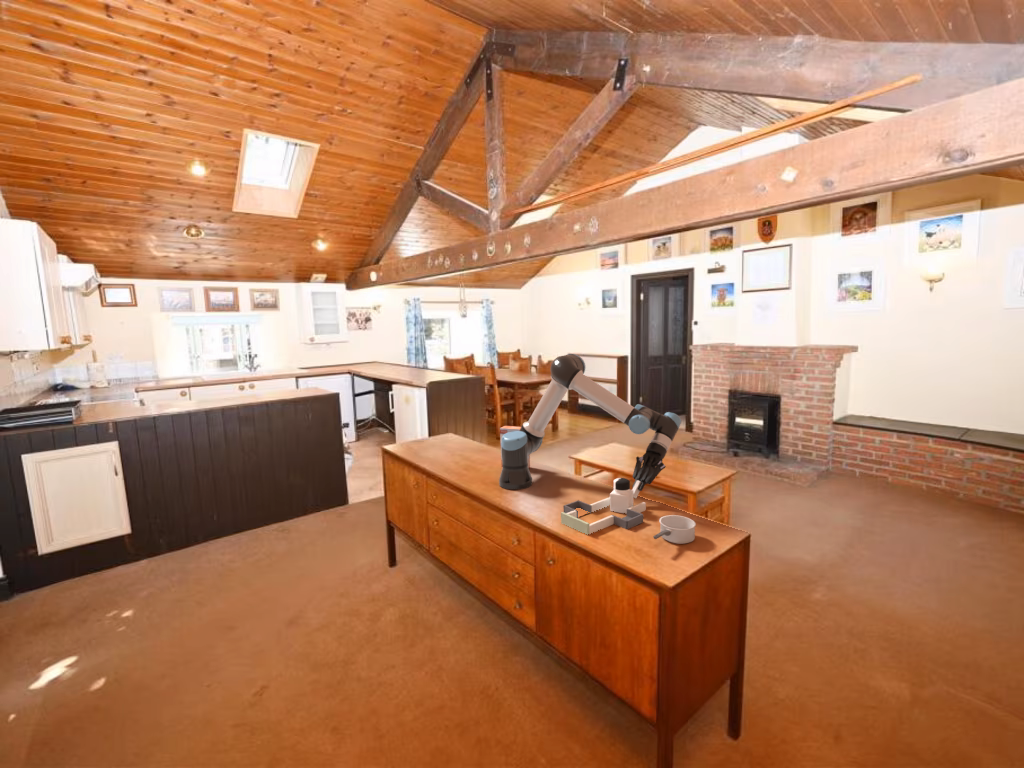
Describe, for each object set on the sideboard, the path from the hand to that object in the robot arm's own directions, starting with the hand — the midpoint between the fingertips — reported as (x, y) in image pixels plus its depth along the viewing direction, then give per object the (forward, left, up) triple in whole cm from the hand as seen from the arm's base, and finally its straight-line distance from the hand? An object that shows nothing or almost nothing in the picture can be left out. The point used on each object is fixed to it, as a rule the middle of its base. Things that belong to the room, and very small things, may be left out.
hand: (632, 496), depth 180 cm
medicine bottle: (+2, -6, -4) cm, 7 cm away
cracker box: (-62, -36, -4) cm, 72 cm away
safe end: (+14, -28, -4) cm, 32 cm away
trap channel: (+6, -13, -4) cm, 15 cm away
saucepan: (+31, -1, -4) cm, 32 cm away
